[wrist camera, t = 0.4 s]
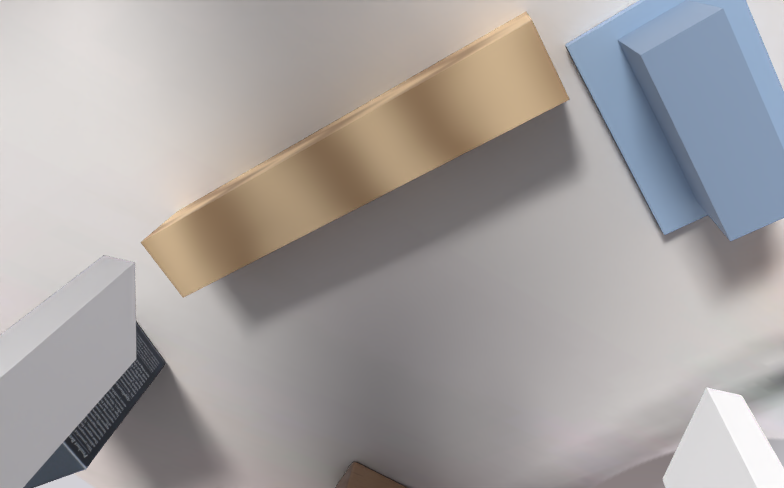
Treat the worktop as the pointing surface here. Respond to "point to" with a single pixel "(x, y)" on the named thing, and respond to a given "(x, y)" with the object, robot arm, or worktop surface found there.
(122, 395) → the box
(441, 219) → the worktop surface
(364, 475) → the wooden block
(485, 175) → the worktop surface
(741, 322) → the worktop surface
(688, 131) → the fulcrum
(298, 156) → the oak bar
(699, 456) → the robot arm
